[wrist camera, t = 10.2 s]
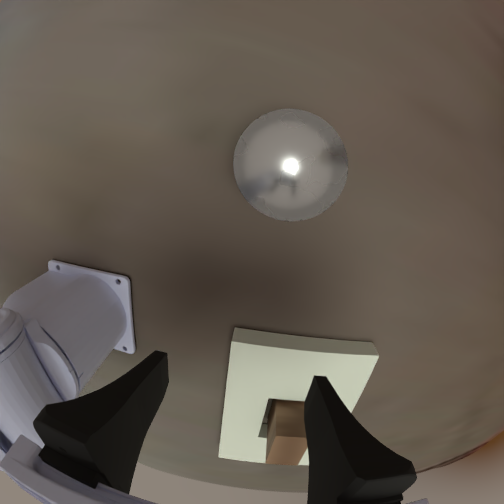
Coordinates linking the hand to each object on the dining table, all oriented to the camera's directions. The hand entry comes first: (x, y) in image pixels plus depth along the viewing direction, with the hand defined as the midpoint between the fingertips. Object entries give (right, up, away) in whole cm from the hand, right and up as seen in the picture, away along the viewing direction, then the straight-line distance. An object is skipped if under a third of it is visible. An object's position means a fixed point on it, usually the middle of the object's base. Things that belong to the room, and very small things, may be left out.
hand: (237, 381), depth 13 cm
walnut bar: (+4, -9, +12) cm, 16 cm away
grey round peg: (+3, +12, +6) cm, 14 cm away
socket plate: (+4, -9, +12) cm, 16 cm away
